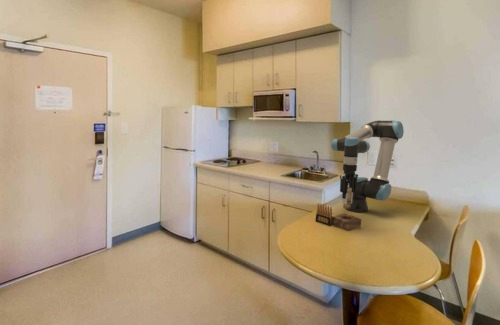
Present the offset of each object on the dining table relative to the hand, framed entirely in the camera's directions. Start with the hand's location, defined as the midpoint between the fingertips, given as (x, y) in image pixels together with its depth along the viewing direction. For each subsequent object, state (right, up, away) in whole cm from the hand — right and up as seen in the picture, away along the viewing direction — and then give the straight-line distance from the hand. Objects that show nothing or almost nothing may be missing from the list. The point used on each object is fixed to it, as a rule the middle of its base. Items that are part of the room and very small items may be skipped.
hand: (347, 203), depth 167 cm
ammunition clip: (-13, -13, +5) cm, 19 cm away
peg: (0, -3, 0) cm, 3 cm away
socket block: (0, -14, +2) cm, 14 cm away
